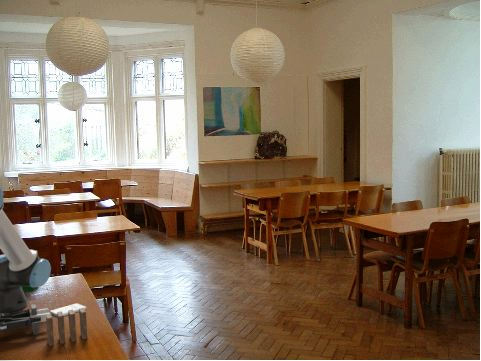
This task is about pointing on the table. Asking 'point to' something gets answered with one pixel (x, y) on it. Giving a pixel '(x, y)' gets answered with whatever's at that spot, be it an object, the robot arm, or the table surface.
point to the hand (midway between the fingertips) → (49, 314)
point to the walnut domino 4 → (83, 323)
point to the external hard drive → (65, 309)
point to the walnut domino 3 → (72, 325)
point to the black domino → (34, 325)
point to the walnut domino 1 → (50, 329)
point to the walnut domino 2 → (61, 327)
